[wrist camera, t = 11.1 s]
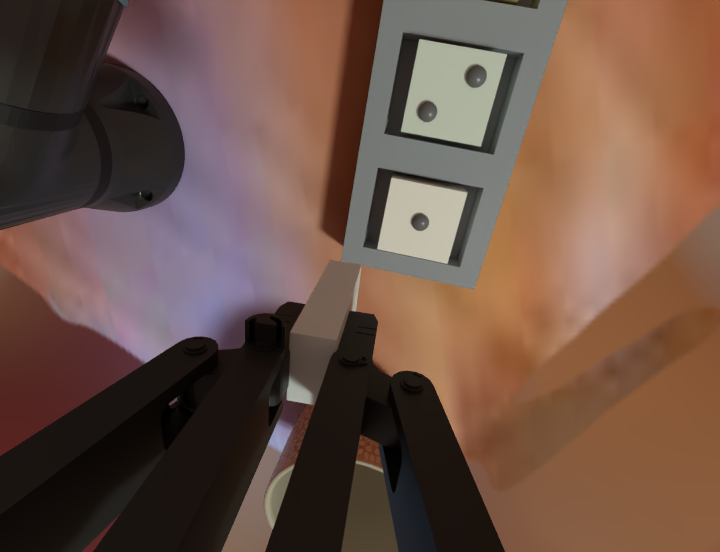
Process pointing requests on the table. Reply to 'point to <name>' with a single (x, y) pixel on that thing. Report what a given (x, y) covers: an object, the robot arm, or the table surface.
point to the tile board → (437, 156)
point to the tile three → (505, 1)
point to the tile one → (421, 217)
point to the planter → (367, 500)
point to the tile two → (452, 92)
